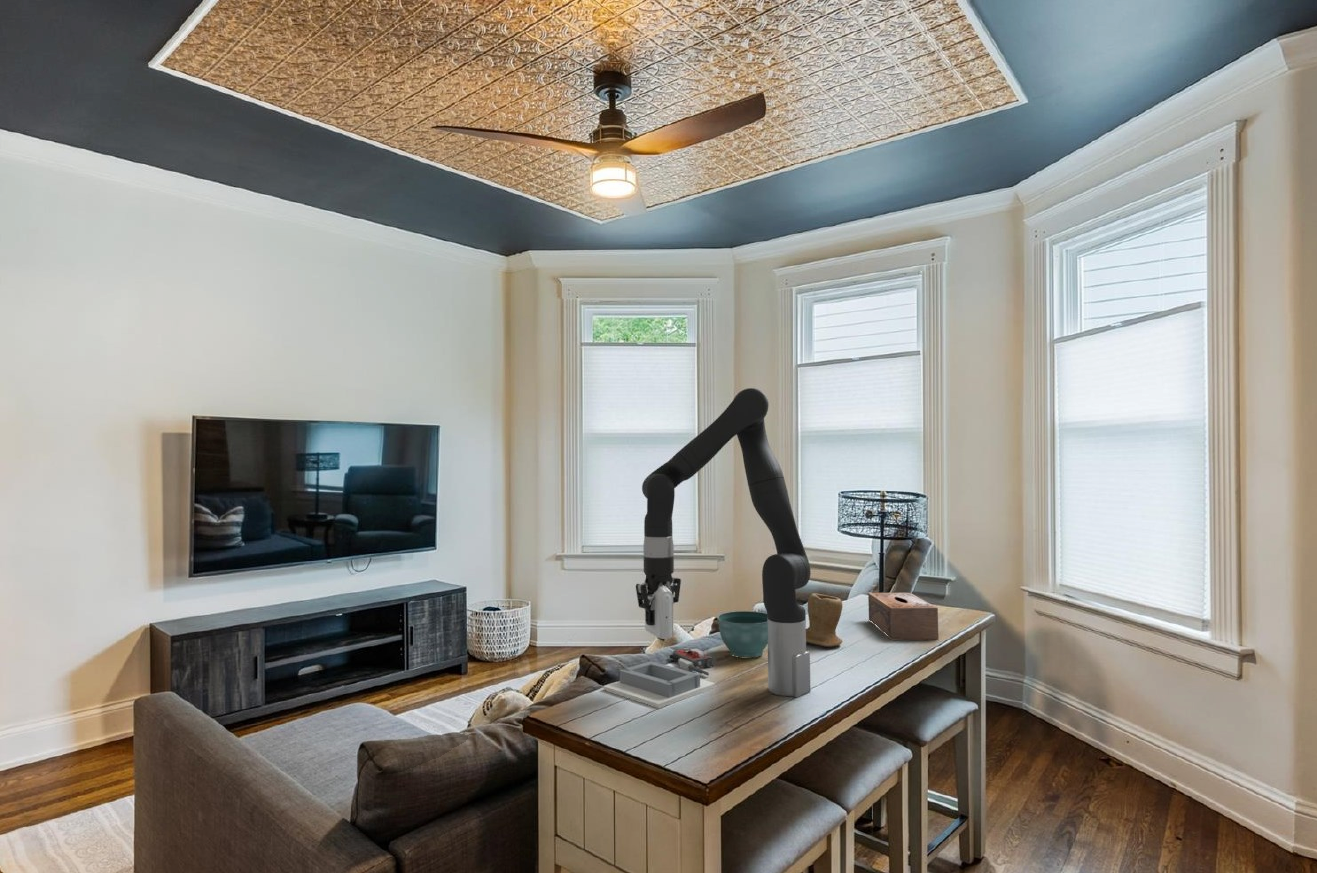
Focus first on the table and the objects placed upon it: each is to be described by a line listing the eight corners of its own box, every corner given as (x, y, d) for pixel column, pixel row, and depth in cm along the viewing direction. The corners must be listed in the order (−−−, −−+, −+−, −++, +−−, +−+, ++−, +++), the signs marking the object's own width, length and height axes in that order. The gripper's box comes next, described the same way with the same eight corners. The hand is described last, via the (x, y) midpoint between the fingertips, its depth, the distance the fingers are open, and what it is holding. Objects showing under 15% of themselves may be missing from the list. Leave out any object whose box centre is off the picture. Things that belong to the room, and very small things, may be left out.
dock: (715, 687, 172) (715, 671, 172) (658, 708, 158) (658, 690, 158) (660, 672, 185) (659, 656, 185) (603, 690, 171) (603, 673, 171)
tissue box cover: (938, 640, 216) (937, 607, 216) (891, 640, 216) (890, 608, 217) (910, 621, 242) (910, 592, 242) (868, 621, 242) (868, 592, 243)
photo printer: (675, 638, 168) (675, 586, 169) (659, 640, 167) (659, 588, 167) (658, 628, 178) (658, 580, 178) (643, 630, 176) (642, 581, 177)
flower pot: (748, 666, 190) (747, 625, 191) (706, 654, 202) (705, 616, 203) (785, 654, 201) (785, 616, 201) (743, 644, 213) (743, 608, 213)
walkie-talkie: (662, 662, 196) (704, 680, 179) (662, 646, 196) (704, 663, 179) (688, 657, 201) (731, 674, 184) (688, 641, 201) (731, 657, 184)
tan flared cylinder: (851, 644, 211) (850, 595, 212) (827, 651, 203) (826, 600, 204) (811, 635, 223) (810, 588, 223) (787, 641, 215) (786, 593, 216)
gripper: (648, 558, 165) (649, 630, 165) (689, 552, 175) (689, 620, 175) (627, 555, 170) (627, 625, 170) (667, 550, 181) (668, 616, 180)
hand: (659, 622), depth 172 cm, fingers closed on photo printer, 5 cm apart
